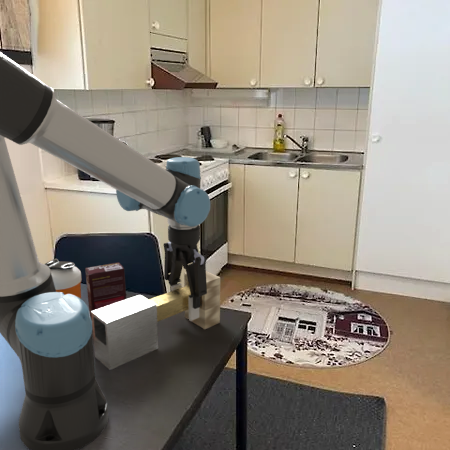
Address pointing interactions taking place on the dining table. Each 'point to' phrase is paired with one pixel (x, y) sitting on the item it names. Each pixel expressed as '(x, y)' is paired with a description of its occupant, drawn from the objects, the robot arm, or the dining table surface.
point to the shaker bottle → (65, 277)
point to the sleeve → (124, 331)
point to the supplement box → (105, 285)
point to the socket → (208, 302)
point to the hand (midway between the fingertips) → (185, 313)
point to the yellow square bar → (172, 302)
